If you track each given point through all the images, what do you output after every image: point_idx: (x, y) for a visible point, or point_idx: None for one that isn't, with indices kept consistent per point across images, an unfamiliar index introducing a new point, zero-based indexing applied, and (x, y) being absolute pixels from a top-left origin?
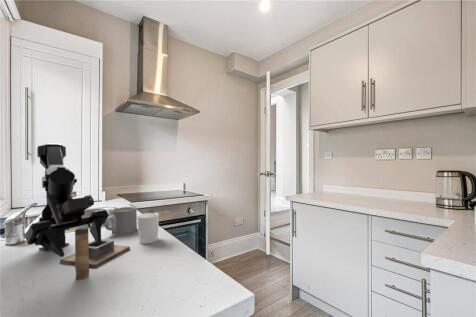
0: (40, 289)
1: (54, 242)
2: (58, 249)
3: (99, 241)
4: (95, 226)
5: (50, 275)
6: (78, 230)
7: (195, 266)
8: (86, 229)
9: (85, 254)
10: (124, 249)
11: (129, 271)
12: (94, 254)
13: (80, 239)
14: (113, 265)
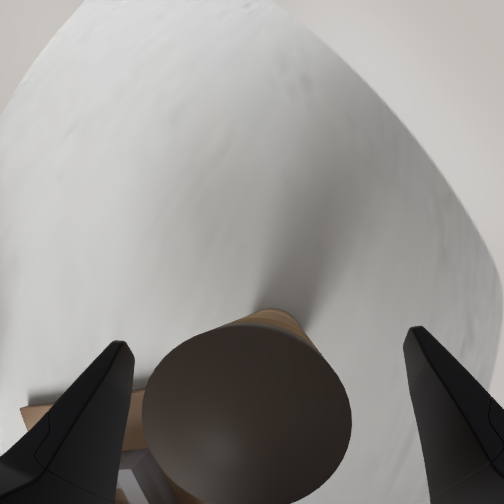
0: None
1: (497, 408)
2: (454, 359)
3: (118, 350)
4: (48, 484)
5: (343, 472)
6: (307, 416)
7: (48, 69)
8: (192, 350)
9: (259, 312)
10: (40, 406)
11: (131, 193)
12: (150, 465)
13: (297, 331)
14: (131, 320)
